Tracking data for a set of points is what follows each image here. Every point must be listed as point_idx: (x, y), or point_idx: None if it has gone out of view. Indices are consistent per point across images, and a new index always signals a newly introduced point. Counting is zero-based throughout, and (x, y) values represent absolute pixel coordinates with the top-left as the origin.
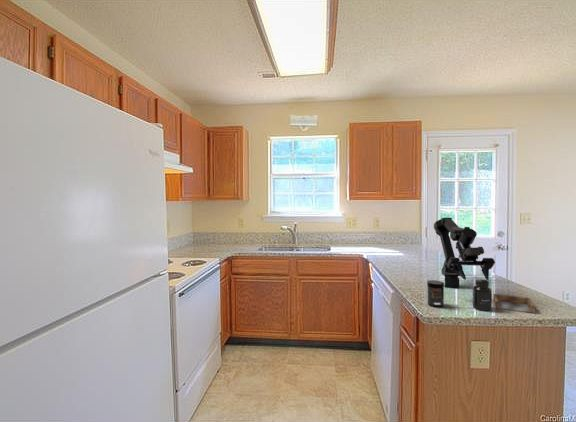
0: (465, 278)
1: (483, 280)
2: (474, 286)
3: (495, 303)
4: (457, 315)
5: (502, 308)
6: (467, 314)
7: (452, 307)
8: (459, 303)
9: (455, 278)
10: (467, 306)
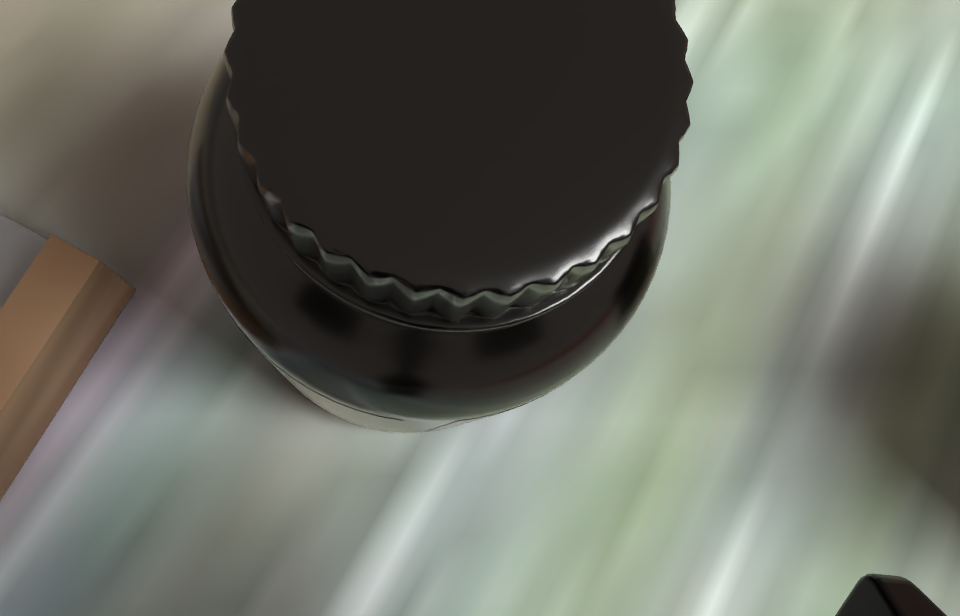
0: (885, 578)
1: (363, 136)
2: (629, 255)
3: (93, 304)
4: (943, 16)
5: (32, 232)
6: (784, 42)
7: (876, 361)
8: (661, 582)
9: None
10: (598, 408)
